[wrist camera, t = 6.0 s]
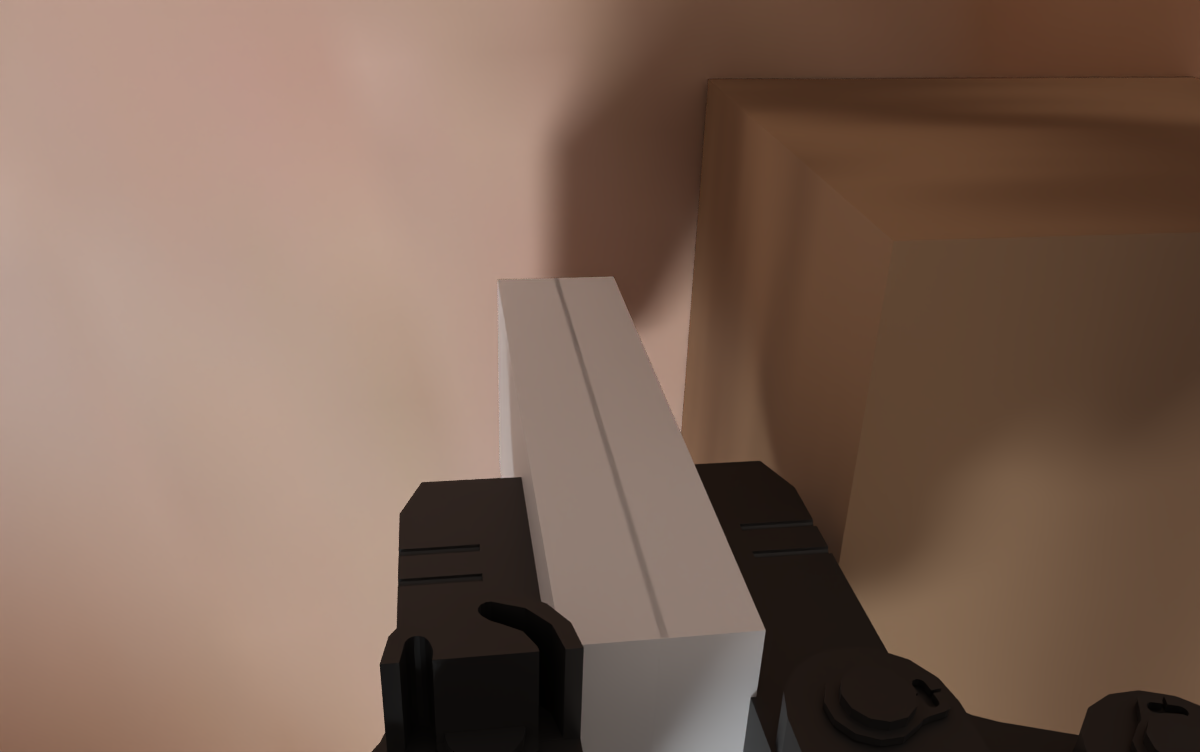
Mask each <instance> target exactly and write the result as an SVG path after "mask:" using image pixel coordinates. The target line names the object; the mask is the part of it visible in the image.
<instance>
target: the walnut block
mask: <svg viewBox="0 0 1200 752" xmlns="http://www.w3.org/2000/svg"><path fill="white" fill-rule="evenodd" d="M681 435H682V437H683V439H684V442H685V444H686V446H687V448H688V451H689V453H690V455H691V458H692V460H693V462H694V464H707V463H725V462H744V461H761V462H762V463H764V464H765V465H766V466H768V467H769V468H770V469H772V470H773V471H774V472H776V473H777V474H778V475H779V476H781V477H782V478H783V479H785V480H786V481H787V482H789V483H790V484H791V485H792V486H794V487H795V489H796V490H797V492H798V494H799V496H800V497H801V499H802V501H803V503H804V504H805V506H806V508H807V510H808V512H809V513H810V515H811V517H812V519H813V526H817V527H818V529H819V531H820V533H821V535H822V536H823V538H824V540H825V542H826V543H827V545H828V552H829V553H832V554H833V556H834V558H835V559H836V561H837V563H838V565H839V566H840V568H841V570H842V572H843V573H844V575H845V577H846V579H847V581H848V582H849V584H850V586H851V588H852V589H853V591H854V593H855V595H856V596H857V598H858V600H859V602H860V604H861V605H862V607H863V609H864V611H865V612H866V614H867V616H868V618H869V619H870V621H871V623H872V625H873V627H874V628H875V630H876V632H877V634H878V635H879V637H880V639H881V641H882V642H883V644H884V646H885V648H886V650H887V651H888V653H891V654H894V655H897V656H900V657H903V658H906V659H909V660H911V661H912V662H914V663H916V664H917V665H919V666H920V667H922V668H924V669H925V670H927V671H928V672H930V673H932V674H933V675H935V676H936V677H938V678H939V679H940V680H941V681H942V682H943V683H944V684H945V686H946V687H947V688H948V689H949V690H950V691H951V692H952V694H953V695H954V696H955V697H956V698H957V699H958V700H959V701H960V703H961V705H962V706H963V708H964V709H965V711H966V713H969V714H971V715H974V716H978V717H982V718H986V719H990V720H994V721H998V722H1004V723H1010V724H1016V725H1022V726H1028V727H1034V728H1040V729H1046V730H1052V731H1058V732H1064V733H1070V734H1076V735H1079V733H1080V730H1081V727H1082V724H1083V721H1084V718H1085V715H1086V712H1087V709H1088V707H1090V706H1091V705H1093V704H1094V703H1096V702H1098V701H1099V700H1101V699H1102V698H1104V697H1105V696H1107V695H1108V694H1114V693H1121V692H1129V691H1136V690H1141V691H1148V692H1154V693H1160V694H1167V695H1173V696H1177V697H1180V698H1182V699H1185V700H1187V701H1190V702H1192V703H1195V704H1197V705H1200V79H1198V78H1195V77H1143V78H880V79H708V89H707V102H706V115H705V129H704V142H703V155H702V168H701V181H700V194H699V207H698V220H697V233H696V247H695V260H694V273H693V286H692V299H691V312H690V325H689V338H688V352H687V365H686V378H685V391H684V404H683V417H682V430H681Z"/></svg>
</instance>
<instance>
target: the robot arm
mask: <svg viewBox="0 0 1200 752" xmlns="http://www.w3.org/2000/svg"><path fill="white" fill-rule="evenodd" d="M498 370H499V462H500V473H501V478H493V479H475V480H457V481H438V482H422V483H421V484H420V486H419V487H418V488H417V490H416V491H415V493H414V494H413V496H412V497H411V498H410V500H409V501H408V503H407V504H406V506H405V507H404V509H403V510H402V511H401V513H400V523H399V563H398V603H397V629H396V630H395V631H394V632H393V633H392V634H391V635H390V636H389V637H388V640H387V644H386V647H385V650H384V653H383V656H382V659H381V662H380V673H381V685H382V697H383V709H384V721H385V734H384V736H383V738H382V740H381V742H380V743H379V744H378V745H377V746H376V748H375V749H374V750H373V751H372V752H1200V705H1197V704H1195V703H1192V702H1190V701H1187V700H1185V699H1182V698H1180V697H1177V696H1173V695H1167V694H1160V693H1154V692H1148V691H1141V690H1136V691H1129V692H1121V693H1114V694H1108V695H1107V696H1105V697H1104V698H1102V699H1101V700H1099V701H1098V702H1096V703H1094V704H1093V705H1091V706H1090V707H1088V709H1087V712H1086V715H1085V718H1084V721H1083V724H1082V727H1081V730H1080V733H1079V735H1076V734H1070V733H1064V732H1058V731H1052V730H1046V729H1040V728H1034V727H1028V726H1022V725H1016V724H1010V723H1004V722H998V721H994V720H990V719H986V718H982V717H978V716H974V715H971V714H969V713H966V711H965V709H964V708H963V706H962V705H961V703H960V701H959V700H958V699H957V698H956V697H955V696H954V695H953V694H952V692H951V691H950V690H949V689H948V688H947V687H946V686H945V684H944V683H943V682H942V681H941V680H940V679H939V678H938V677H936V676H935V675H933V674H932V673H930V672H928V671H927V670H925V669H924V668H922V667H920V666H919V665H917V664H916V663H914V662H912V661H911V660H909V659H906V658H903V657H900V656H897V655H894V654H891V653H888V651H887V650H886V648H885V646H884V644H883V642H882V641H881V639H880V637H879V635H878V634H877V632H876V630H875V628H874V627H873V625H872V623H871V621H870V619H869V618H868V616H867V614H866V612H865V611H864V609H863V607H862V605H861V604H860V602H859V600H858V598H857V596H856V595H855V593H854V591H853V589H852V588H851V586H850V584H849V582H848V581H847V579H846V577H845V575H844V573H843V572H842V570H841V568H840V566H839V565H838V563H837V561H836V559H835V558H834V556H833V554H832V553H829V552H828V545H827V543H826V542H825V540H824V538H823V536H822V535H821V533H820V531H819V529H818V527H817V526H813V519H812V517H811V515H810V513H809V512H808V510H807V508H806V506H805V504H804V503H803V501H802V499H801V497H800V496H799V494H798V492H797V490H796V489H795V487H794V486H792V485H791V484H790V483H789V482H787V481H786V480H785V479H783V478H782V477H781V476H779V475H778V474H777V473H776V472H774V471H773V470H772V469H770V468H769V467H768V466H766V465H765V464H764V463H762V462H761V461H744V462H725V463H707V464H694V462H693V460H692V458H691V455H690V453H689V451H688V448H687V446H686V444H685V442H684V439H683V437H682V435H681V432H680V430H679V428H678V425H677V423H676V421H675V418H674V416H673V414H672V411H671V409H670V407H669V404H668V402H667V400H666V397H665V395H664V393H663V390H662V388H661V386H660V383H659V381H658V379H657V376H656V374H655V372H654V369H653V367H652V365H651V362H650V360H649V358H648V355H647V353H646V351H645V348H644V346H643V344H642V341H641V339H640V337H639V335H638V332H637V330H636V328H635V325H634V323H633V321H632V318H631V316H630V314H629V311H628V309H627V307H626V304H625V302H624V300H623V297H622V295H621V293H620V290H619V288H618V286H617V283H616V281H615V279H614V276H613V277H575V278H534V279H498Z"/></svg>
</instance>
